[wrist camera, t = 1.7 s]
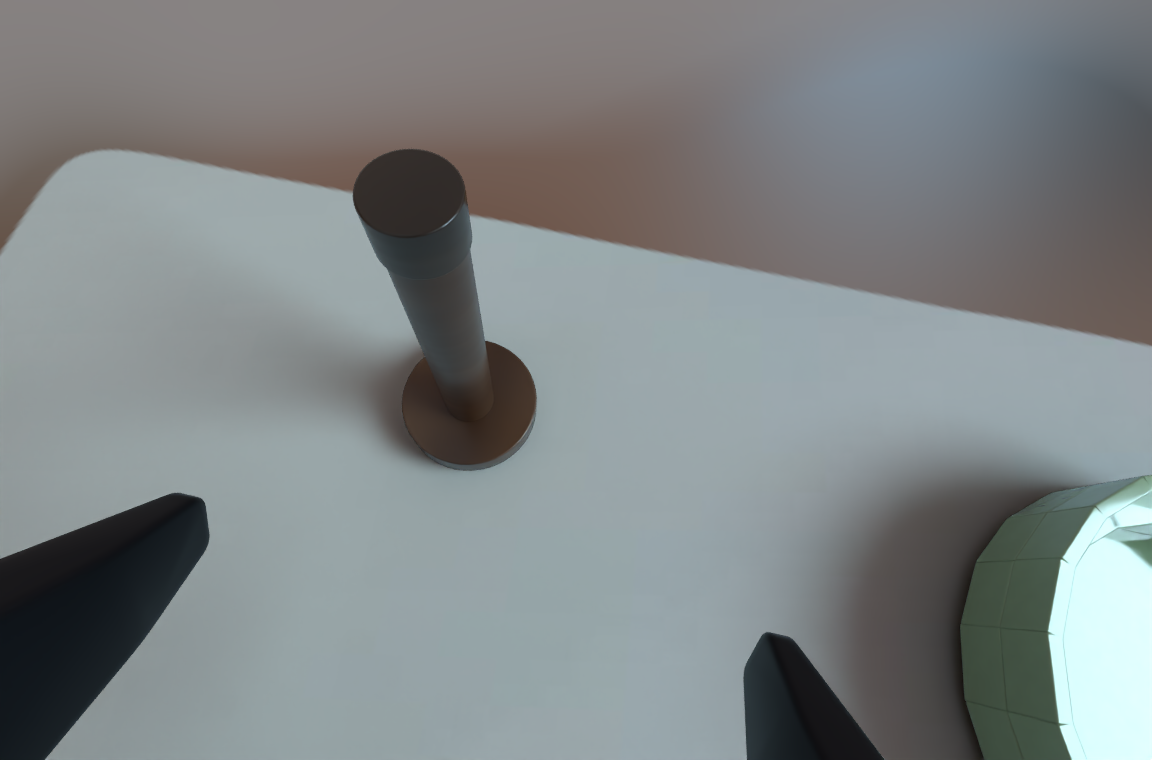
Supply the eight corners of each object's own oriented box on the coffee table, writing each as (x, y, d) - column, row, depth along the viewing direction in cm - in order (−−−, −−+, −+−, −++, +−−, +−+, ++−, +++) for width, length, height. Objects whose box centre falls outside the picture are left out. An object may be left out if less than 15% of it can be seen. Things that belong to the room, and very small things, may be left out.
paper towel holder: (389, 455, 23) (208, 277, 10) (429, 338, 25) (323, 62, 12) (519, 483, 23) (512, 345, 10) (548, 364, 25) (573, 118, 12)
